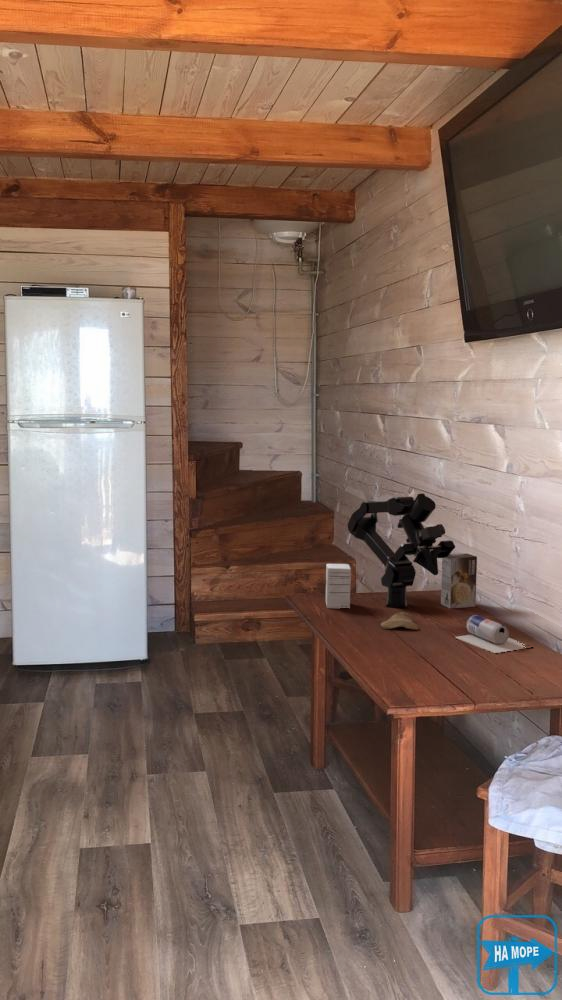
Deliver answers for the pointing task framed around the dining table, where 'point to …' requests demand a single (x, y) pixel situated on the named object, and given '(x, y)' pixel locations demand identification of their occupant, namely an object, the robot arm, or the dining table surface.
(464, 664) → the dining table surface
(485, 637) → the energy drink
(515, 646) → the white mat
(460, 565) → the coffee box
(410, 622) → the pottery shard
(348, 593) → the supplement box
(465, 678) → the dining table surface
